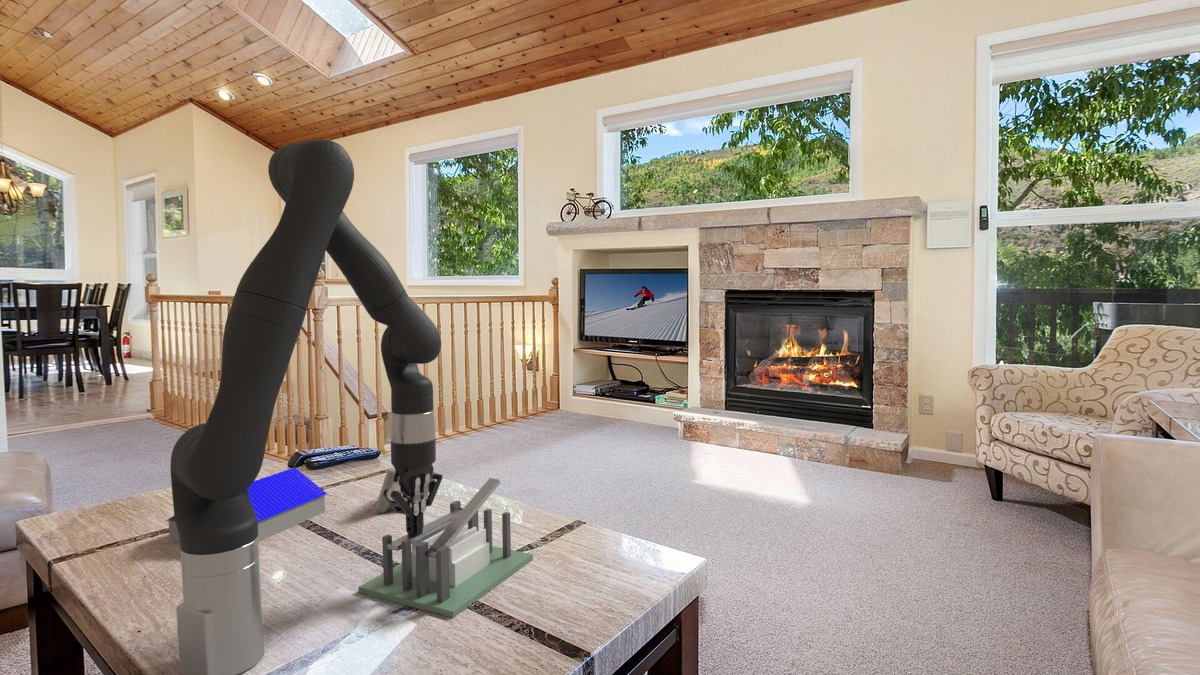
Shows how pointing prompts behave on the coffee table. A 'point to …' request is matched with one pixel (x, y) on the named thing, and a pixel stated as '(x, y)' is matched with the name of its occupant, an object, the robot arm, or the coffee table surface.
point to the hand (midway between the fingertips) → (415, 533)
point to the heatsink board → (448, 568)
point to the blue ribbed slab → (279, 503)
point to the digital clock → (382, 501)
